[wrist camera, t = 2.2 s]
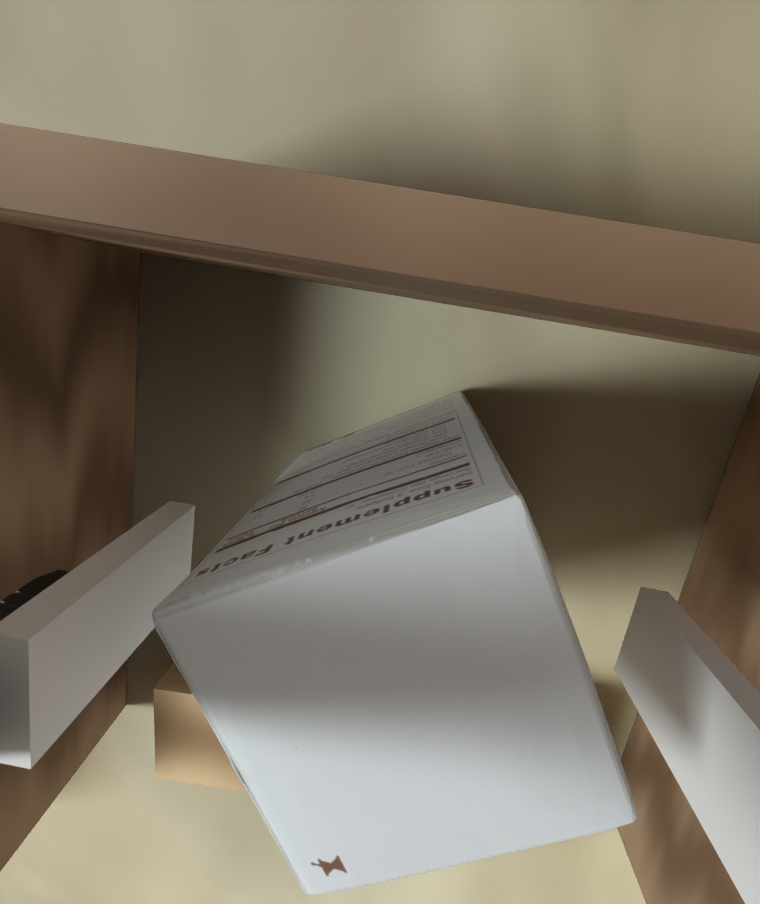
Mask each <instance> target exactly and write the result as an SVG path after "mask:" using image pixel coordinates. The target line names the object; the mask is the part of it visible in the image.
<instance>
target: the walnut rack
mask: <svg viewBox="0 0 760 904" xmlns="http://www.w3.org/2000/svg"><path fill="white" fill-rule="evenodd" d="M140 253H143V254H149V255H155V256H161V257H167V258H173V259H179V260H185V261H191V262H197V263H203V264H209V265H215V266H221V267H227V268H233V269H239V270H245V271H251V272H257V273H263V274H269V275H275V276H281V277H288V278H294V279H300V280H306V281H312V282H318V283H324V284H330V285H336V286H342V287H348V288H354V289H360V290H366V291H372V292H378V293H384V294H390V295H396V296H402V297H408V298H414V299H420V300H426V301H432V302H438V303H444V304H450V305H456V306H462V307H468V308H474V309H480V310H486V311H492V312H498V313H504V314H510V315H516V316H522V317H528V318H534V319H540V320H546V321H553V322H559V323H565V324H571V325H577V326H583V327H589V328H595V329H601V330H607V331H613V332H619V333H625V334H631V335H637V336H643V337H649V338H655V339H661V340H667V341H673V342H679V343H685V344H691V345H697V346H703V347H709V348H715V349H721V350H727V351H733V352H739V353H745V354H751V355H757V356H760V244H758V243H751V242H745V241H739V240H732V239H726V238H720V237H714V236H707V235H701V234H695V233H688V232H682V231H676V230H670V229H663V228H657V227H651V226H644V225H638V224H632V223H625V222H619V221H613V220H607V219H600V218H594V217H588V216H581V215H575V214H569V213H563V212H556V211H550V210H544V209H537V208H531V207H525V206H519V205H512V204H506V203H500V202H493V201H487V200H481V199H474V198H468V197H462V196H456V195H449V194H443V193H437V192H430V191H424V190H418V189H412V188H405V187H399V186H393V185H386V184H380V183H374V182H367V181H361V180H355V179H349V178H342V177H336V176H330V175H323V174H317V173H311V172H305V171H298V170H292V169H286V168H279V167H273V166H267V165H261V164H254V163H248V162H242V161H235V160H229V159H223V158H216V157H210V156H204V155H198V154H191V153H185V152H179V151H172V150H166V149H160V148H154V147H147V146H141V145H135V144H128V143H122V142H116V141H109V140H103V139H97V138H91V137H84V136H78V135H72V134H65V133H59V132H53V131H47V130H40V129H34V128H28V127H21V126H15V125H9V124H3V123H0V601H1V600H3V599H4V598H6V597H7V596H9V595H10V594H12V593H13V594H15V592H16V590H18V589H19V588H21V587H22V586H24V585H25V584H27V583H28V582H30V581H31V580H33V579H35V578H37V577H40V576H43V575H46V574H48V573H51V572H54V571H56V570H63V571H68V572H70V571H72V570H73V569H74V568H76V567H77V566H79V565H80V564H81V563H83V562H84V561H86V560H87V559H89V558H90V557H91V556H93V555H94V554H96V553H97V552H98V551H100V550H101V549H103V548H104V547H105V546H107V545H108V544H110V543H111V542H113V541H114V540H115V539H117V538H118V537H120V536H121V535H122V534H124V533H125V532H127V531H128V530H129V529H131V526H132V495H133V464H134V433H135V402H136V371H137V340H138V309H139V278H140ZM678 604H679V605H680V606H681V607H682V608H683V609H684V610H685V611H686V612H687V613H688V615H689V616H690V617H691V618H692V619H693V620H694V621H695V622H696V623H697V624H698V625H699V627H700V628H701V629H702V630H703V631H704V632H705V633H706V634H707V635H708V636H709V638H710V639H711V640H712V641H713V642H714V643H715V644H716V645H717V646H718V647H719V648H720V650H721V651H722V652H723V653H724V654H725V655H726V656H727V657H728V658H729V659H730V661H731V662H732V663H733V664H734V665H735V666H736V667H737V668H738V669H739V670H740V671H741V673H742V674H743V675H744V676H745V677H746V678H747V679H748V680H749V681H750V682H751V684H752V685H753V686H754V687H755V688H756V689H757V690H758V691H759V692H760V375H759V378H758V381H757V384H756V386H755V389H754V392H753V395H752V397H751V400H750V403H749V406H748V409H747V411H746V414H745V417H744V420H743V422H742V425H741V428H740V431H739V434H738V436H737V439H736V442H735V445H734V447H733V450H732V453H731V456H730V459H729V461H728V464H727V467H726V470H725V472H724V475H723V478H722V481H721V484H720V486H719V489H718V492H717V495H716V498H715V500H714V503H713V506H712V509H711V511H710V514H709V517H708V520H707V523H706V525H705V528H704V531H703V534H702V536H701V539H700V542H699V545H698V548H697V550H696V553H695V556H694V559H693V561H692V564H691V567H690V570H689V573H688V575H687V578H686V581H685V584H684V586H683V589H682V592H681V595H680V598H679V600H678ZM126 681H127V660H126V661H125V662H124V663H123V664H122V665H121V667H120V668H119V669H118V670H117V671H116V672H115V673H114V675H113V676H112V677H111V678H110V679H109V680H108V681H107V683H106V684H105V685H104V686H103V687H102V688H101V689H100V691H99V692H98V693H97V694H96V695H95V696H94V697H93V699H92V700H91V701H90V702H89V703H88V704H87V705H86V707H85V708H84V709H83V710H82V711H81V712H80V713H79V715H78V716H77V717H76V718H75V719H74V720H73V721H72V723H71V724H70V725H69V726H68V727H67V728H66V729H65V731H64V732H63V733H62V734H61V735H60V736H59V737H58V739H57V740H56V741H55V742H54V743H53V744H52V745H51V747H50V748H49V749H48V750H47V751H46V752H45V753H44V755H43V756H42V757H41V758H40V759H39V760H38V761H37V763H36V764H35V765H34V766H33V767H32V768H31V769H27V768H22V767H17V766H12V765H7V764H3V763H0V871H1V870H2V868H3V867H4V866H5V865H6V863H7V862H8V861H9V859H10V858H11V857H12V855H13V854H14V853H15V851H16V850H17V849H18V847H19V846H20V845H21V843H22V842H23V841H24V839H25V838H26V837H27V835H28V834H29V833H30V831H31V830H32V829H33V828H34V826H35V825H36V824H37V822H38V821H39V820H40V818H41V817H42V816H43V814H44V813H45V812H46V810H47V809H48V808H49V806H50V805H51V804H52V802H53V801H54V800H55V798H56V797H57V796H58V794H59V793H60V792H61V791H62V789H63V788H64V787H65V785H66V784H67V783H68V781H69V780H70V779H71V777H72V776H73V775H74V773H75V772H76V771H77V769H78V768H79V767H80V765H81V764H82V763H83V761H84V760H85V759H86V757H87V756H88V755H89V754H90V752H91V751H92V750H93V748H94V747H95V746H96V744H97V743H98V742H99V740H100V739H101V738H102V736H103V735H104V734H105V732H106V731H107V730H108V728H109V727H110V726H111V724H112V723H113V722H114V720H115V719H116V718H117V717H118V715H119V714H120V713H121V711H122V710H123V709H124V707H125V706H126ZM621 763H622V766H623V769H624V772H625V775H626V778H627V781H628V784H629V787H630V790H631V794H632V797H633V800H634V804H635V808H636V811H637V816H638V817H637V818H636V820H635V821H634V822H633V823H630V824H626V825H623V826H620V827H617V828H618V831H619V834H620V836H621V839H622V841H623V844H624V847H625V849H626V852H627V855H628V857H629V860H630V862H631V865H632V868H633V870H634V873H635V875H636V878H637V881H638V883H639V886H640V889H641V891H642V894H643V896H644V899H645V902H646V904H745V903H744V901H743V899H742V897H741V895H740V894H739V892H738V890H737V888H736V886H735V885H734V883H733V881H732V879H731V877H730V876H729V874H728V872H727V870H726V868H725V867H724V865H723V863H722V861H721V859H720V858H719V856H718V854H717V852H716V850H715V849H714V847H713V845H712V843H711V841H710V840H709V838H708V836H707V834H706V832H705V831H704V829H703V827H702V825H701V823H700V822H699V820H698V818H697V816H696V814H695V813H694V811H693V809H692V807H691V805H690V804H689V802H688V800H687V798H686V796H685V795H684V793H683V791H682V789H681V787H680V786H679V784H678V782H677V780H676V778H675V777H674V775H673V773H672V771H671V769H670V768H669V766H668V764H667V762H666V760H665V759H664V757H663V755H662V753H661V752H660V750H659V748H658V746H657V744H656V743H655V741H654V739H653V737H652V735H651V734H650V732H649V730H648V728H647V726H646V725H645V723H644V721H643V719H642V717H641V716H640V714H639V712H638V714H637V717H636V720H635V723H634V725H633V728H632V731H631V734H630V737H629V739H628V742H627V745H626V748H625V750H624V753H623V756H622V759H621Z"/></svg>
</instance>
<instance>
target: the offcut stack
mask: <svg viewBox="0 0 760 904" xmlns="http://www.w3.org/2000/svg"><path fill="white" fill-rule="evenodd" d="M154 725H155V767H156V778H158V779H165V780H171V781H178V782H184V783H191V784H197V785H204V786H210V787H217V788H224V789H230V790H237V791H243V792H248V791H247V789H246V788H245V786H244V785H243V784H242V782H241V780H240V779H239V777H238V775H237V774H236V772H235V770H234V769H233V767H232V765H231V762H230V759H229V758H228V756H227V754H226V752H225V750H224V749H223V747H222V745H221V743H220V741H219V740H218V738H217V736H216V734H215V733H214V731H213V729H212V727H211V726H210V724H209V722H208V720H207V719H206V717H205V715H204V713H203V712H202V710H201V708H200V706H199V704H198V703H197V701H196V699H195V697H194V695H193V694H192V692H191V690H190V688H189V686H188V684H187V682H186V681H185V679H184V677H183V675H182V674H181V672H180V670H179V669H178V667H177V666H176V664H175V662H174V661H173V659H172V664H171V665H170V666H169V668H168V669H167V671H166V672H165V673H164V675H163V676H162V678H161V679H160V680H159V682H158V683H157V685H156V686H155V687H154Z"/></svg>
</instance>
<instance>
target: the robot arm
mask: <svg viewBox="0 0 760 904" xmlns="http://www.w3.org/2000/svg"><path fill="white" fill-rule="evenodd" d="M194 517H195V505H191V504H186V503H180V502H175V501H169V502H168V503H166V504H165V505H163V506H162V507H160V508H159V509H158V510H156V511H155V512H153V513H152V514H151V515H149V516H148V517H146V518H145V519H144V520H142V521H141V522H139V523H138V524H136V525H135V526H134V527H132V528H131V529H129V530H128V531H127V532H125V533H124V534H122V535H121V536H120V537H118V538H117V539H115V540H114V541H113V542H111V543H110V544H108V545H107V546H105V547H104V548H103V549H101V550H100V551H98V552H97V553H96V554H94V555H93V556H91V557H90V558H89V559H87V560H86V561H84V562H83V563H81V564H80V565H79V566H77V567H76V568H74V569H73V570H72V571H70V572H68V571H63V570H56V571H54V572H51V573H48V574H46V575H43V576H40V577H37V578H35V579H33V580H31V581H30V582H28V583H27V584H25V585H24V586H22V587H21V588H19V589H18V590H16V592H15V594H13V593H12V594H10V595H9V596H7V597H6V598H4V599H3V600H1V601H0V763H3V764H7V765H12V766H17V767H22V768H27V769H31V768H32V767H33V766H34V765H35V764H36V763H37V761H38V760H39V759H40V758H41V757H42V756H43V755H44V753H45V752H46V751H47V750H48V749H49V748H50V747H51V745H52V744H53V743H54V742H55V741H56V740H57V739H58V737H59V736H60V735H61V734H62V733H63V732H64V731H65V729H66V728H67V727H68V726H69V725H70V724H71V723H72V721H73V720H74V719H75V718H76V717H77V716H78V715H79V713H80V712H81V711H82V710H83V709H84V708H85V707H86V705H87V704H88V703H89V702H90V701H91V700H92V699H93V697H94V696H95V695H96V694H97V693H98V692H99V691H100V689H101V688H102V687H103V686H104V685H105V684H106V683H107V681H108V680H109V679H110V678H111V677H112V676H113V675H114V673H115V672H116V671H117V670H118V669H119V668H120V667H121V665H122V664H123V663H124V662H125V661H126V660H127V659H128V657H129V656H130V655H131V654H132V653H133V652H134V651H135V649H136V648H137V647H138V646H139V645H140V644H141V643H142V641H143V640H144V639H145V638H146V637H147V636H148V635H149V633H150V632H151V631H152V630H153V629H154V628H155V626H154V623H153V618H152V612H153V609H154V608H155V607H156V606H157V605H158V604H159V603H160V602H161V601H162V600H163V599H164V598H165V597H166V596H168V595H169V594H170V593H171V592H172V591H173V590H174V589H175V588H176V587H177V586H178V585H179V584H180V583H181V582H182V581H183V580H184V579H185V578H186V577H187V576H188V575H189V574H190V571H191V557H192V544H193V530H194ZM614 669H615V671H616V672H617V674H618V676H619V678H620V680H621V681H622V683H623V685H624V687H625V689H626V690H627V692H628V694H629V696H630V698H631V699H632V701H633V703H634V705H635V707H636V708H637V710H638V712H639V714H640V716H641V717H642V719H643V721H644V723H645V725H646V726H647V728H648V730H649V732H650V734H651V735H652V737H653V739H654V741H655V743H656V744H657V746H658V748H659V750H660V752H661V753H662V755H663V757H664V759H665V760H666V762H667V764H668V766H669V768H670V769H671V771H672V773H673V775H674V777H675V778H676V780H677V782H678V784H679V786H680V787H681V789H682V791H683V793H684V795H685V796H686V798H687V800H688V802H689V804H690V805H691V807H692V809H693V811H694V813H695V814H696V816H697V818H698V820H699V822H700V823H701V825H702V827H703V829H704V831H705V832H706V834H707V836H708V838H709V840H710V841H711V843H712V845H713V847H714V849H715V850H716V852H717V854H718V856H719V858H720V859H721V861H722V863H723V865H724V867H725V868H726V870H727V872H728V874H729V876H730V877H731V879H732V881H733V883H734V885H735V886H736V888H737V890H738V892H739V894H740V895H741V897H742V899H743V901H744V903H745V904H760V692H759V691H758V690H757V689H756V688H755V687H754V686H753V685H752V684H751V682H750V681H749V680H748V679H747V678H746V677H745V676H744V675H743V674H742V673H741V671H740V670H739V669H738V668H737V667H736V666H735V665H734V664H733V663H732V662H731V661H730V659H729V658H728V657H727V656H726V655H725V654H724V653H723V652H722V651H721V650H720V648H719V647H718V646H717V645H716V644H715V643H714V642H713V641H712V640H711V639H710V638H709V636H708V635H707V634H706V633H705V632H704V631H703V630H702V629H701V628H700V627H699V625H698V624H697V623H696V622H695V621H694V620H693V619H692V618H691V617H690V616H689V615H688V613H687V612H686V611H685V610H684V609H683V608H682V607H681V606H680V605H679V604H678V602H677V601H676V600H675V599H674V598H673V597H672V596H671V595H670V594H669V593H668V592H665V591H660V590H655V589H649V588H644V587H641V589H640V592H639V595H638V598H637V601H636V604H635V607H634V610H633V613H632V616H631V619H630V622H629V625H628V628H627V631H626V634H625V638H624V641H623V644H622V647H621V650H620V653H619V656H618V659H617V662H616V665H615V668H614Z"/></svg>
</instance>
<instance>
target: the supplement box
mask: <svg viewBox="0 0 760 904" xmlns="http://www.w3.org/2000/svg"><path fill="white" fill-rule="evenodd" d="M152 618H153V623H154V626H155V628H156V631H157V633H158V635H159V636H160V638H161V639H162V641H163V643H164V645H165V646H166V648H167V650H168V652H169V654H170V656H171V658H172V659H173V661H174V662H175V664H176V666H177V667H178V669H179V670H180V672H181V674H182V675H183V677H184V679H185V681H186V682H187V684H188V686H189V688H190V690H191V692H192V694H193V695H194V697H195V699H196V701H197V703H198V704H199V706H200V708H201V710H202V712H203V713H204V715H205V717H206V719H207V720H208V722H209V724H210V726H211V727H212V729H213V731H214V733H215V734H216V736H217V738H218V740H219V741H220V743H221V745H222V747H223V749H224V750H225V752H226V754H227V756H228V758H229V759H230V762H231V765H232V767H233V769H234V770H235V772H236V774H237V775H238V777H239V779H240V780H241V782H242V784H243V785H244V786H245V788H246V789H247V791H248V793H249V795H250V796H251V798H252V800H253V802H254V804H255V806H256V807H257V809H258V811H259V812H260V814H261V816H262V818H263V819H264V821H265V823H266V825H267V826H268V828H269V830H270V832H271V834H272V835H273V837H274V839H275V841H276V843H277V844H278V846H279V848H280V850H281V852H282V854H283V855H284V857H285V859H286V861H287V862H288V864H289V866H290V868H291V869H292V871H293V873H294V875H295V877H296V879H297V881H298V883H299V886H300V887H301V889H302V891H303V892H304V893H305V894H308V895H314V894H322V893H328V892H335V891H341V890H347V889H352V888H357V887H362V886H367V885H372V884H376V883H381V882H385V881H390V880H394V879H398V878H402V877H407V876H411V875H415V874H420V873H424V872H429V871H433V870H438V869H442V868H446V867H450V866H454V865H458V864H462V863H466V862H471V861H476V860H480V859H485V858H489V857H494V856H498V855H503V854H507V853H511V852H516V851H520V850H524V849H529V848H533V847H537V846H542V845H546V844H550V843H554V842H559V841H565V840H568V839H572V838H577V837H583V836H587V835H591V834H595V833H599V832H603V831H607V830H610V829H613V828H617V827H620V826H623V825H626V824H630V823H633V822H634V821H635V820H636V818H637V817H638V816H637V811H636V808H635V804H634V800H633V797H632V794H631V790H630V787H629V784H628V781H627V778H626V775H625V772H624V769H623V766H622V763H621V760H620V757H619V754H618V751H617V749H616V746H615V743H614V740H613V737H612V734H611V731H610V728H609V725H608V722H607V720H606V717H605V714H604V711H603V708H602V705H601V702H600V699H599V696H598V694H597V691H596V688H595V685H594V682H593V679H592V676H591V673H590V670H589V667H588V665H587V662H586V659H585V656H584V654H583V651H582V648H581V645H580V643H579V640H578V637H577V634H576V632H575V629H574V626H573V624H572V621H571V618H570V616H569V613H568V610H567V608H566V605H565V602H564V600H563V597H562V594H561V592H560V589H559V586H558V584H557V581H556V578H555V576H554V573H553V570H552V568H551V565H550V563H549V560H548V558H547V555H546V552H545V550H544V547H543V545H542V542H541V540H540V537H539V535H538V532H537V530H536V527H535V525H534V522H533V520H532V517H531V515H530V512H529V510H528V507H527V505H526V502H525V500H524V498H523V496H522V494H521V493H520V491H519V490H518V488H517V486H516V484H515V483H514V481H513V479H512V477H511V476H510V474H509V472H508V470H507V468H506V467H505V465H504V463H503V462H502V460H501V458H500V456H499V455H498V453H497V451H496V449H495V447H494V445H493V443H492V441H491V439H490V438H489V436H488V434H487V432H486V430H485V428H484V427H483V425H482V423H481V421H480V420H479V418H478V416H477V415H476V413H475V411H474V410H473V408H472V406H471V405H470V403H469V402H468V400H467V398H466V397H465V395H464V393H463V392H462V391H457V392H455V393H453V394H451V395H448V396H446V397H443V398H441V399H438V400H436V401H433V402H431V403H428V404H426V405H423V406H421V407H418V408H415V409H413V410H410V411H408V412H405V413H403V414H400V415H397V416H395V417H392V418H390V419H387V420H385V421H382V422H379V423H377V424H374V425H372V426H369V427H366V428H364V429H361V430H359V431H356V432H354V433H351V434H348V435H346V436H343V437H341V438H338V439H336V440H333V441H330V442H328V443H325V444H323V445H320V446H318V447H315V448H313V449H310V450H308V451H305V452H303V453H302V454H301V455H300V456H299V457H298V458H297V459H296V460H295V461H294V462H293V463H292V464H291V465H290V466H289V467H288V468H287V469H286V470H285V471H284V472H283V473H282V474H281V475H280V476H279V477H278V478H277V480H276V481H275V482H274V483H273V484H272V485H271V486H270V487H269V488H268V489H267V490H266V492H265V493H264V494H263V495H262V496H261V497H260V498H259V499H258V500H257V501H256V502H255V503H254V505H253V506H252V507H251V508H250V509H249V510H248V511H247V513H246V514H245V515H244V516H243V517H242V518H241V519H240V520H239V521H238V522H237V523H236V524H235V525H234V527H233V528H232V529H231V530H230V531H229V532H228V533H227V534H226V535H225V536H224V537H223V539H222V540H221V541H220V542H219V543H218V544H217V545H216V546H215V547H214V549H213V550H212V551H211V552H210V553H209V554H208V555H207V556H206V557H205V558H204V559H203V560H202V561H201V562H200V564H199V565H198V566H197V567H196V568H195V569H194V570H193V571H192V572H191V573H190V574H189V575H188V576H187V577H186V578H185V579H184V580H183V581H182V582H181V583H180V584H179V585H178V586H177V587H176V588H175V589H174V590H173V591H172V592H171V593H170V594H169V595H168V596H166V597H165V598H164V599H163V600H162V601H161V602H160V603H159V604H158V605H157V606H156V607H155V608H154V609H153V612H152Z"/></svg>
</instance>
